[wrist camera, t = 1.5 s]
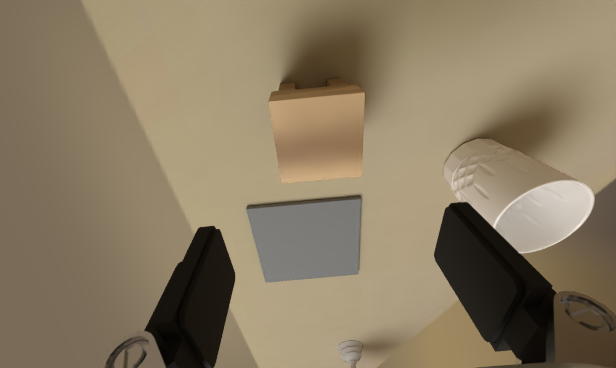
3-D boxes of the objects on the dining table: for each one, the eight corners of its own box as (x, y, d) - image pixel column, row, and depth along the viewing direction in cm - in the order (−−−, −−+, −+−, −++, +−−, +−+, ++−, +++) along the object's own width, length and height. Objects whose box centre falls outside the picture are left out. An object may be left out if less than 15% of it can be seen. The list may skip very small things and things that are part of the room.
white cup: (428, 191, 32) (477, 253, 23) (450, 131, 27) (520, 178, 19) (489, 193, 32) (558, 254, 24) (520, 133, 28) (618, 181, 19)
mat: (247, 206, 31) (246, 209, 31) (359, 196, 31) (360, 198, 31) (266, 279, 39) (265, 282, 38) (357, 271, 39) (358, 274, 38)
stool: (276, 79, 24) (268, 101, 17) (345, 73, 24) (364, 92, 17) (285, 143, 27) (281, 183, 21) (345, 138, 27) (361, 176, 20)
